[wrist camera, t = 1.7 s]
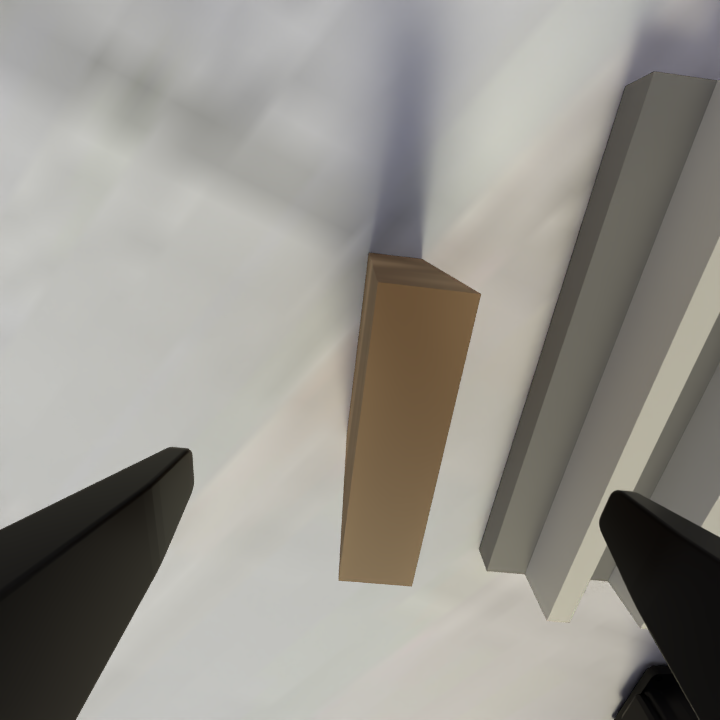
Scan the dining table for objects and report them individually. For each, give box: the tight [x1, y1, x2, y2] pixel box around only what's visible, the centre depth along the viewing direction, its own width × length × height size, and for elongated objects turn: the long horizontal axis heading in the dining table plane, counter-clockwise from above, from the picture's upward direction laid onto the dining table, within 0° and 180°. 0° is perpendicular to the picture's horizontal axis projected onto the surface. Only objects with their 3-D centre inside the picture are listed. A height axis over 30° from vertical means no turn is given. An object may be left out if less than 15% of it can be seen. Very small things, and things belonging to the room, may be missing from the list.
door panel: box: [339, 253, 481, 586], centre depth 12 cm, size 2×8×7 cm, turn 173°
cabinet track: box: [479, 71, 720, 629], centre depth 14 cm, size 9×20×3 cm, turn 173°
